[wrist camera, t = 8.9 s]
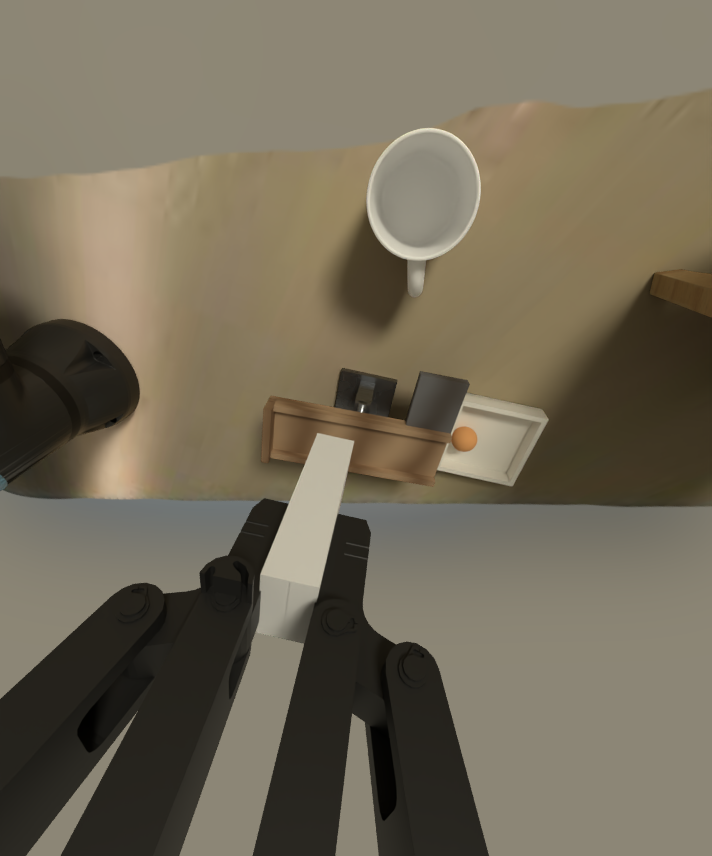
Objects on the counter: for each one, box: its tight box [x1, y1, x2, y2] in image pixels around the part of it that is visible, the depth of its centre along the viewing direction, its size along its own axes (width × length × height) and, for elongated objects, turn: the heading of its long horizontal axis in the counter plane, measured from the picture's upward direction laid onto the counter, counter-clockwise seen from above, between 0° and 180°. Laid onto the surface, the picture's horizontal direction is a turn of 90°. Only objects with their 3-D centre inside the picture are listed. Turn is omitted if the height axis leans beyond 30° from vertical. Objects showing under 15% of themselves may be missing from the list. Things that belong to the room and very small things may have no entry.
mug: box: [366, 128, 481, 297], centre depth 32 cm, size 12×8×10 cm
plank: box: [261, 371, 470, 487], centre depth 39 cm, size 20×13×3 cm, turn 80°
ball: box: [451, 426, 477, 452], centre depth 46 cm, size 3×3×3 cm
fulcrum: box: [335, 368, 397, 417], centre depth 45 cm, size 7×10×7 cm
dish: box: [437, 393, 549, 486], centre depth 47 cm, size 11×11×3 cm
